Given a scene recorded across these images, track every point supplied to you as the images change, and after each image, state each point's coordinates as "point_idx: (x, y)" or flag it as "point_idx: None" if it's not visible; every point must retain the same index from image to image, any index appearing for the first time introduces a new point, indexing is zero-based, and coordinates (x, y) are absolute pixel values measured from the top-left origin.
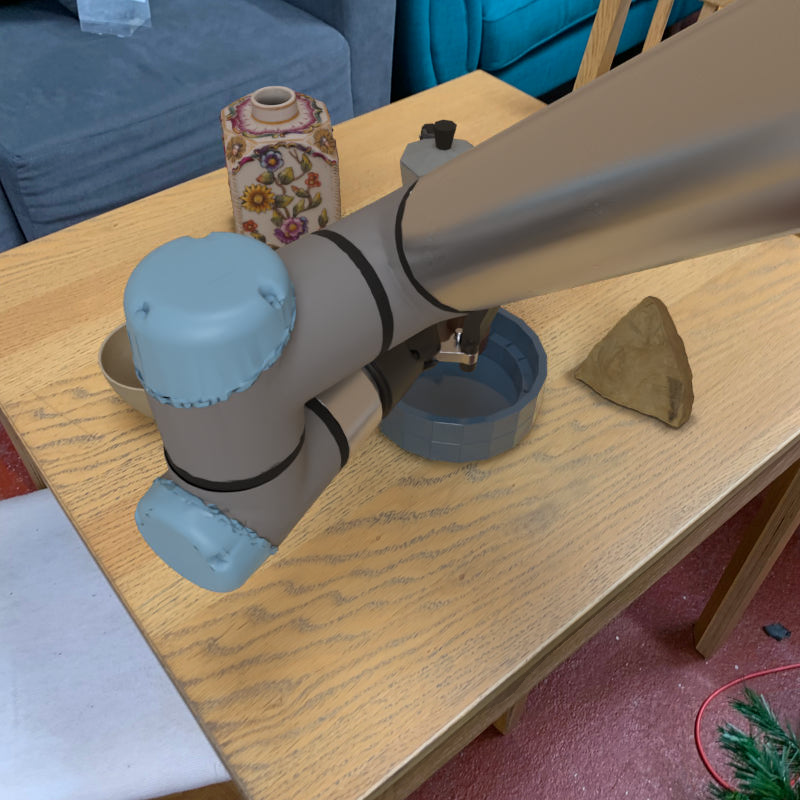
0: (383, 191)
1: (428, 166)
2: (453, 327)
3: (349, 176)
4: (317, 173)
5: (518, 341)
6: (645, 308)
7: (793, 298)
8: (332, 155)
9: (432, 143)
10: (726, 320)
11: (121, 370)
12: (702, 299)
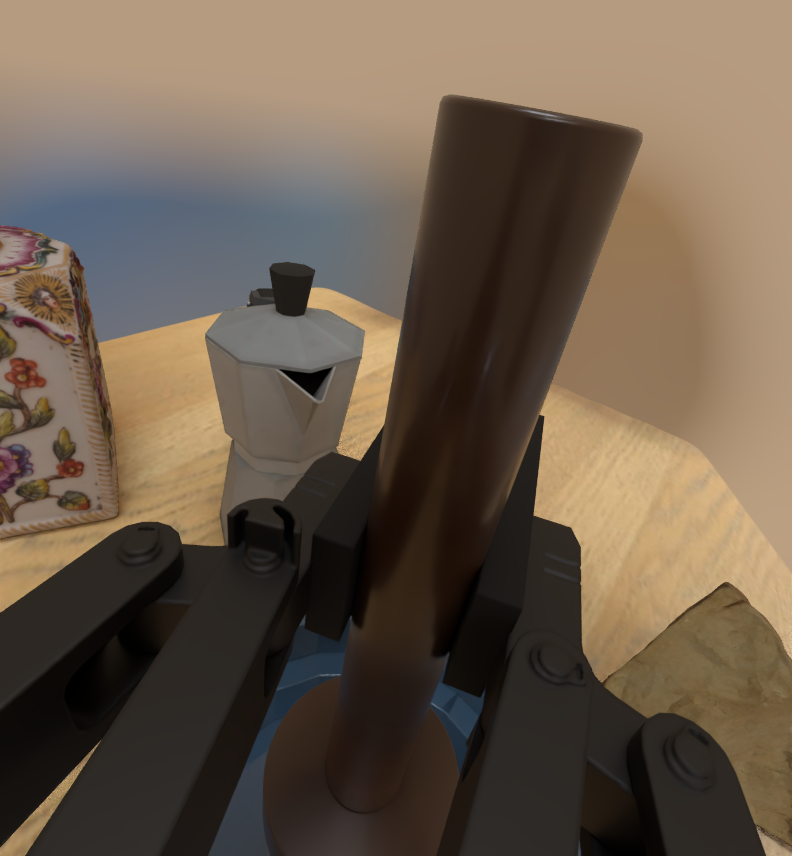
0: (206, 399)
1: (262, 343)
2: (352, 804)
3: (158, 381)
4: (33, 360)
5: (473, 697)
6: (727, 612)
7: (753, 522)
8: (64, 325)
9: (269, 307)
10: (709, 565)
11: None
12: (661, 534)
